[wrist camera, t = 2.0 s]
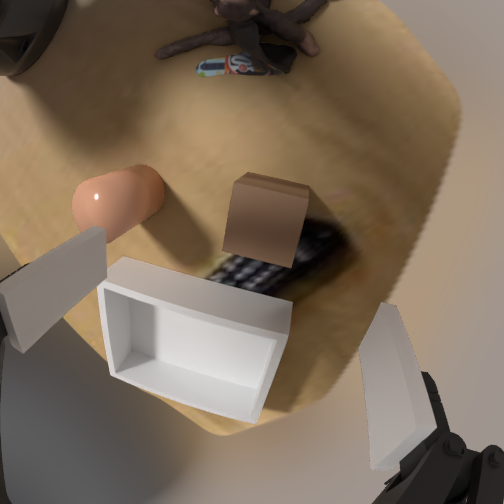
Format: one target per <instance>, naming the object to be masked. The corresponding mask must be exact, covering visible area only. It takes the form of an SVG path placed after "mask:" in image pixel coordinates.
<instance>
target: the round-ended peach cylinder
mask: <svg viewBox="0 0 504 504" xmlns="http://www.w3.org/2000/svg"><path fill="white" fill-rule="evenodd" d="M164 200H165V187H164V183H163V180H162V178H161V177H160V175H159V174H158V173H157V172H156V171H155V170H154V169H153V168H151V167H149V166H147V165H135V166H131V167H127V168H124V169H121V170H117V171H114V172H110V173H107V174H104V175H101V176H98V177H94V178H91V179H88V180H86V181H84V182H82V183H81V184H80V185H79V186H78V187H77V189H76V191H75V193H74V196H73V201H72V211H73V216H74V220H75V222H76V225H77V227H78V228H79V230H80V231H81V233H82V232H84V231H85V230H87V229H89V228H91V227H93V226H98V227H101V228H105V229H106V244H107V243H110V242H112V241H113V240H115V239H116V238H118V237H119V236H121V235H122V234H124V233H126V232H127V231H129V230H130V229H132V228H133V227H135V226H136V225H138V224H140V223H141V222H143V221H144V220H146V219H148V218H149V217H151V216H152V215H154V214H156V213H157V212H158V211H159V210H160V209H161V207H162V205H163V203H164Z"/></svg>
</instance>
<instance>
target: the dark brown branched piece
mask: <svg viewBox="0 0 504 504" xmlns="http://www.w3.org/2000/svg"><path fill="white" fill-rule="evenodd" d="M210 1H211V2H213V6H214V8H215V10H213V12H214V14H215V15H217V16H222V17H224V18H225V22H227V23H228V26H229V27H223V28H218V29H214V30H211V31H209V32H205V33H203V34H201V35H198V36H194V37H189V38H186V39H183V40H180V41H177V42H174V43H171V44H169V45H167V46H165V47H163V48H161V49H159V50H157V51H156V52H155V56H156V57H157V58H158V59H161V58H168V57H171V56H173V55H176V54H179V53H181V52H186V51H189V50H191V49H194V48H197V47H200V46H203V45H219V46H227V45H232V44H237V45H238V46H239V47H241V48H242V49H243V50H244V51H243V52H242V53H240V54H237V55H230V56H224V57H219V58H212V59H208V60H204V61H202V62H201V63H200V64H198V66H197V68H196V72H197V74H198V75H199V76H201V77H207V76H214V75H222V74H239V75H258V76H260V75H261V76H262V75H277V74H280V73H282V72H284V73H286V74H288V73H289V72H290V70H291V67H292V64H293V61H294V60H295V59H296V57H297V52H296V50H295V49H294V48H293V47H291V46H288V45H278V44H273V43H259V35H269V34H273V35H275V36H277V37H279V38H281V39H283V40H286V41H290V42H292V43H294V44H295V45H296V46H297V47H298V49H299V50H300V51H301V52H303V53H304V54H306V55H309V56H314V55H316V54H318V53H319V51H320V49H319V47H318V46H317V44H316V42H315V41H314V38H313V35H312V34H311V33H310V32H309V31H307V30H305V29H303V28H302V27H300V26H299V24H301V23H305V22H308V21H309V20H310V17H311V16H313V15H314V13H315V12H316V11H317V10H318V9H319V8H320V7H321V6H322V5H323V4H325V3H326V2H327V0H305V1H304V2H303V3H302V4H300V5H299V6H298V7H296V8H295V9H293V10H291V11H289V12H287V13H286V14H283V13H282V12H280V11H278V10H274V9H270V4H271V0H210Z"/></svg>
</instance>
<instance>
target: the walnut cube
mask: <svg viewBox="0 0 504 504" xmlns="http://www.w3.org/2000/svg"><path fill="white" fill-rule="evenodd" d="M308 203H309V186H307V185H303V184H299V183H294V182H290V181H286V180H282V179H278V178H273V177H269V176H264V175H260V174H255V173H250V172H247V173H246V174H245V175H243V176H242V177H240V178H239V179H238V180H236V181H235V182H234V184H233V189H232V195H231V201H230V207H229V212H228V218H227V224H226V230H225V237H224V243H223V249H222V251H224V252H228V253H232V254H236V255H240V256H244V257H248V258H252V259H256V260H260V261H264V262H268V263H272V264H276V265H280V266H284V267H288V268H291V267H292V264H293V260H294V257H295V253H296V249H297V245H298V242H299V238H300V234H301V230H302V227H303V223H304V219H305V215H306V211H307V207H308Z"/></svg>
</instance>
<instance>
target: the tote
mask: <svg viewBox="0 0 504 504" xmlns="http://www.w3.org/2000/svg"><path fill="white" fill-rule="evenodd" d="M97 291H98V300H99V309H100V316H101V324H102V330H103V337H104V343H105V349H106V354H107V360H108V365H109V370H110V375H111V376H114V377H116V378H118V379H120V380H123V381H125V382H127V383H130V384H132V385H135V386H137V387H139V388H142V389H144V390H147V391H149V392H152V393H155V394H157V395H160V396H163V397H165V398H168V399H171V400H174V401H177V402H180V403H182V404H185V405H188V406H192V407H195V408H198V409H201V410H204V411H208V412H211V413H214V414H218V415H221V416H225V417H229V418H232V419H236V420H240V421H244V422H248V423H252V424H256V423H257V420H258V418H259V415H260V413H261V410H262V407H263V405H264V402H265V400H266V397H267V395H268V392H269V389H270V387H271V384H272V381H273V379H274V376H275V373H276V371H277V368H278V365H279V362H280V360H281V357H282V354H283V351H284V348H285V345H286V343H287V340H288V337H289V331H290V323H291V315H292V307H293V302H291V301H287V300H283V299H278V298H274V297H270V296H266V295H263V294H259V293H255V292H251V291H247V290H243V289H239V288H235V287H232V286H228V285H224V284H220V283H217V282H213V281H209V280H205V279H202V278H198V277H195V276H191V275H187V274H184V273H180V272H177V271H173V270H170V269H166V268H163V267H159V266H156V265H152V264H149V263H146V262H142V261H139V260H135V259H132V258H129V257H125V256H123V257H122V258H121V259H119V260H118V261H117V262H115V263H114V264H113V265H112V266H110V267H109V268H108V269H107V278H106V279H105V280H104V281H103V282H101V283H100V284H99V285H98V286H97Z"/></svg>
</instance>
